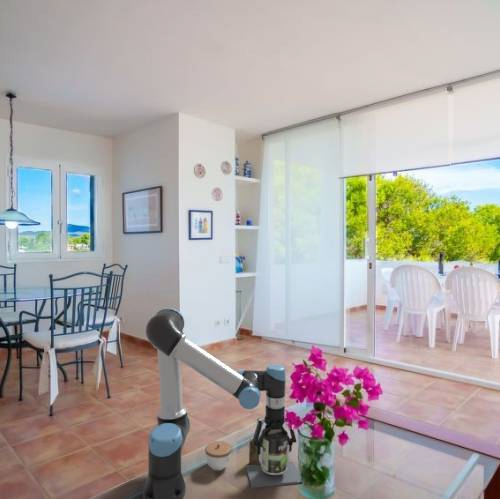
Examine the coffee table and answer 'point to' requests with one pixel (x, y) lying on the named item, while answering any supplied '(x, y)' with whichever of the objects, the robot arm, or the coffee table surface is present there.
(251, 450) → the walnut screen
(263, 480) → the slate mat
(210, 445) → the lidded jar
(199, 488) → the coffee table surface
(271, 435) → the coffee can
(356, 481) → the coffee table surface
